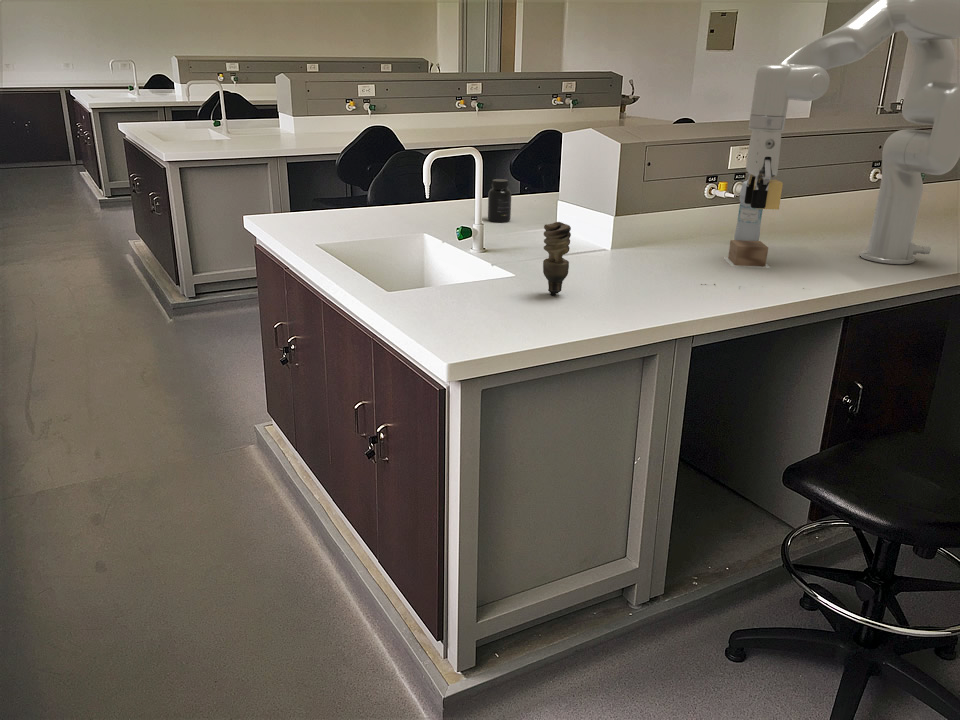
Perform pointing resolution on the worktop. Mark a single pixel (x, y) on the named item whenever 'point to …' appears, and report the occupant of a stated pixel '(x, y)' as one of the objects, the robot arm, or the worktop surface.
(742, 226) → the bottle
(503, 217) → the supplement bottle
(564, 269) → the light bulb
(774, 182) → the ochre block
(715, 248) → the worktop surface
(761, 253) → the walnut block
